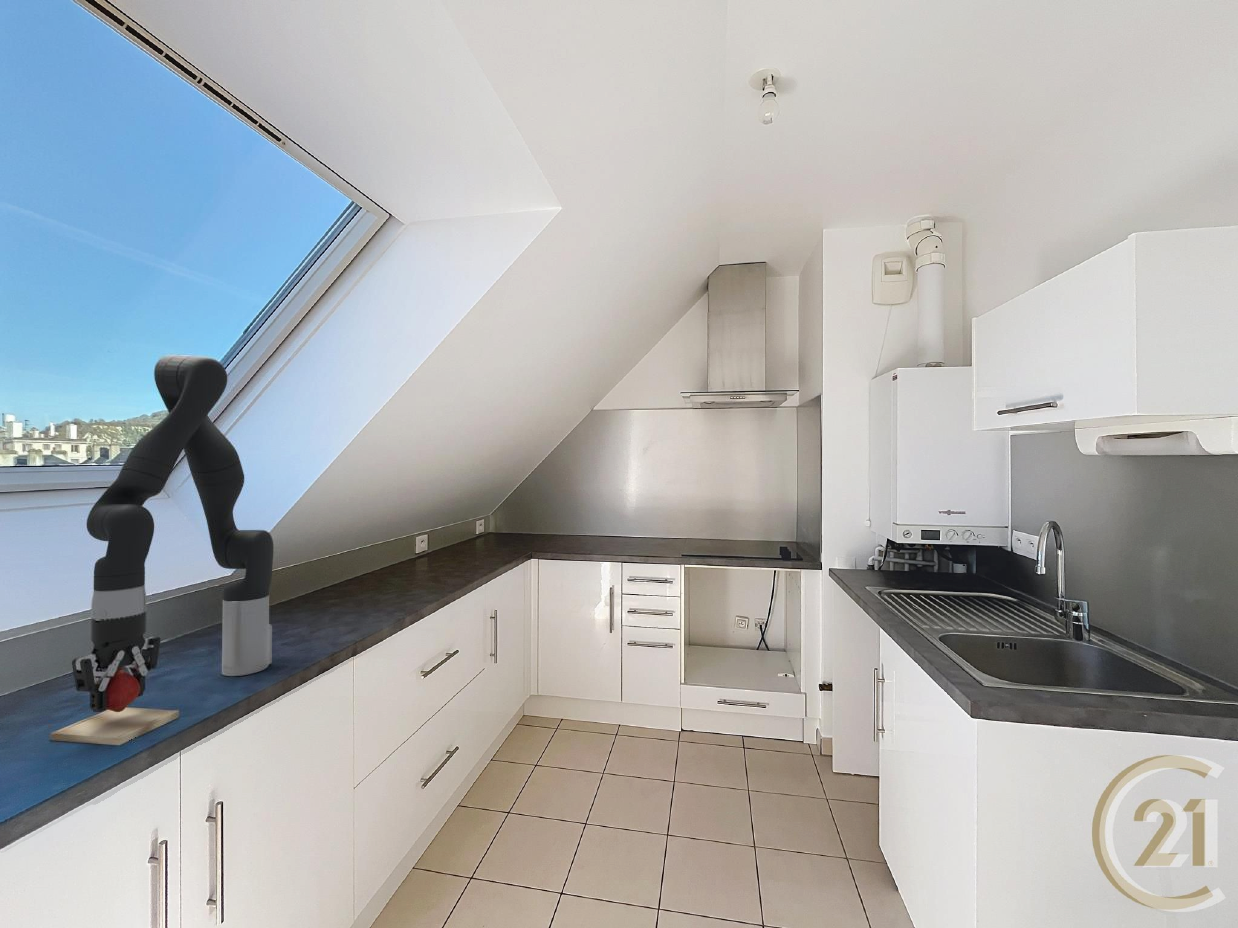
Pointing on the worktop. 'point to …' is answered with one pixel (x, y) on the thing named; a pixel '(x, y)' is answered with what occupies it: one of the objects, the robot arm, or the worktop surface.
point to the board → (115, 726)
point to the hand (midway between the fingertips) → (118, 703)
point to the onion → (121, 690)
